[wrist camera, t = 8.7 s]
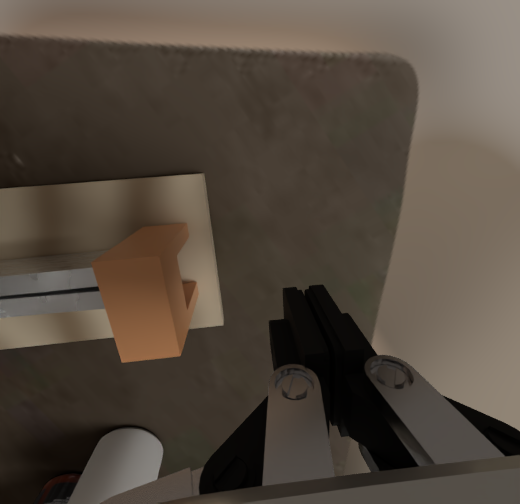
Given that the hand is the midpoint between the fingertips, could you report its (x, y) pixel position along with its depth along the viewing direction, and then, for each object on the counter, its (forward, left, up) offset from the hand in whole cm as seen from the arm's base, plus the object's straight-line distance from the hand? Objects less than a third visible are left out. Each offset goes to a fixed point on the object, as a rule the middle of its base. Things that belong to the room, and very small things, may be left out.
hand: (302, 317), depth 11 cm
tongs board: (-16, 0, -10) cm, 19 cm away
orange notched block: (-8, 0, -9) cm, 12 cm away
